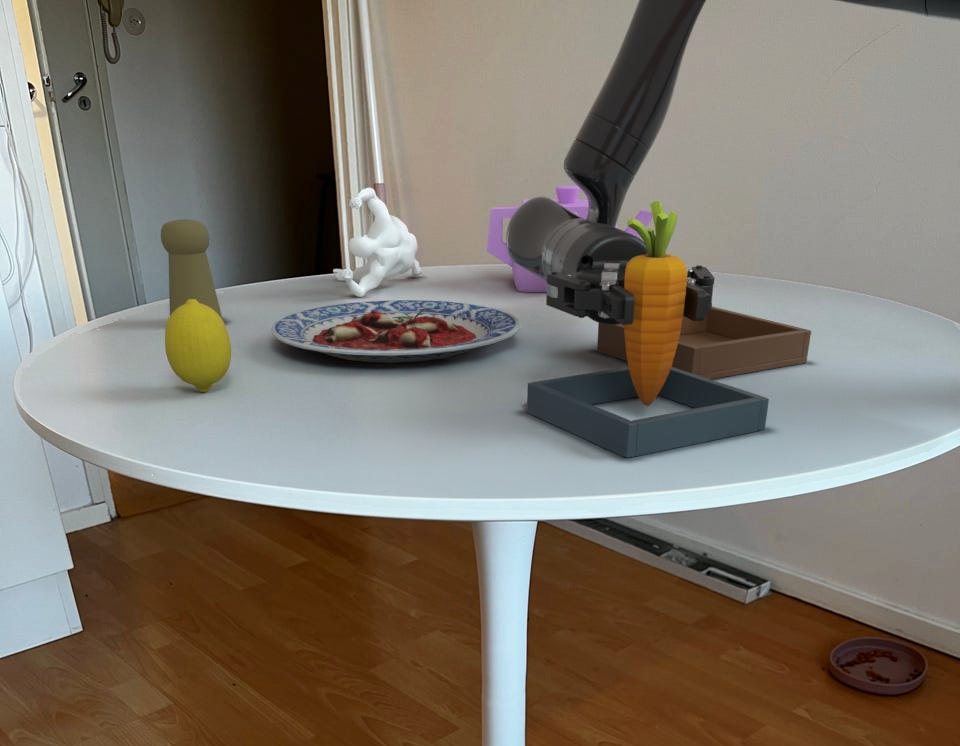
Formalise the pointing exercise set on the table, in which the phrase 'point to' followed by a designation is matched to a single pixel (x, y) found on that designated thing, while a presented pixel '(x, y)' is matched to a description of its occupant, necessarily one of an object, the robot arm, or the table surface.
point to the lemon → (197, 345)
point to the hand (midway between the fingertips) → (665, 308)
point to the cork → (188, 264)
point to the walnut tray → (724, 344)
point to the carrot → (654, 305)
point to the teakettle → (496, 246)
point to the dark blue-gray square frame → (711, 420)
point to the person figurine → (379, 248)
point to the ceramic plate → (395, 329)
